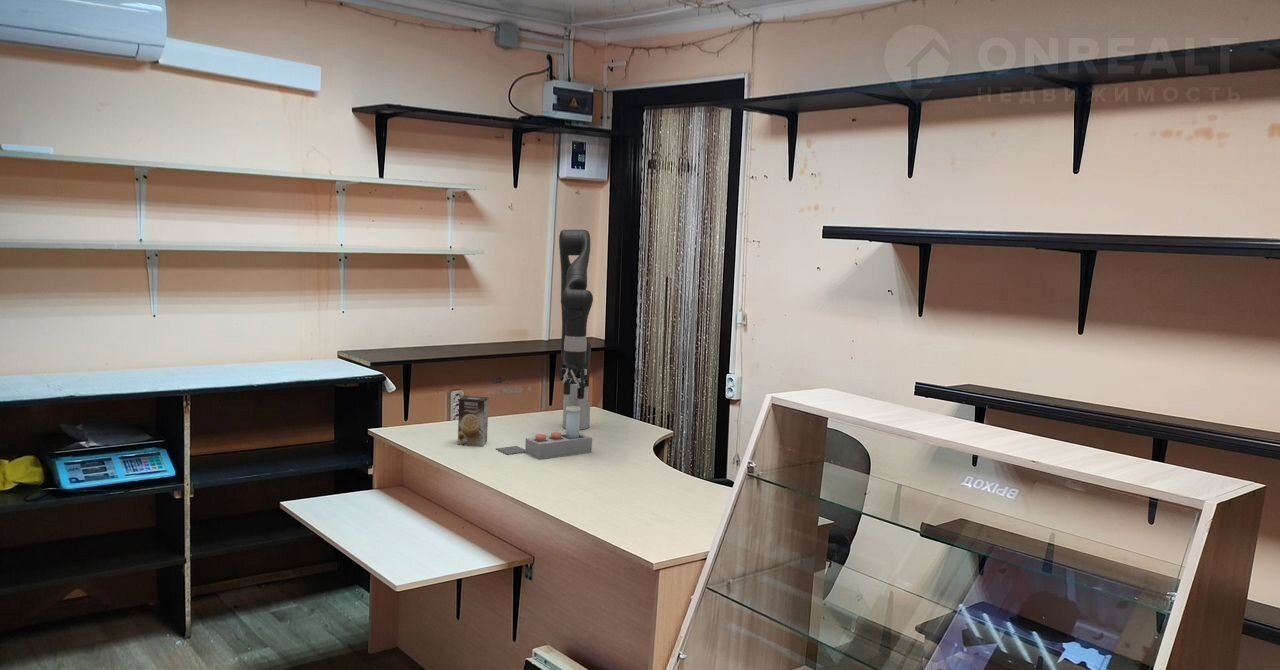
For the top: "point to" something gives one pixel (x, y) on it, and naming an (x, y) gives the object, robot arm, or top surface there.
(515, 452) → the mat
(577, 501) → the top surface
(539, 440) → the plunger
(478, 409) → the coffee box
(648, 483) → the top surface
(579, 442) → the housing
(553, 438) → the plunger
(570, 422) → the cartridge
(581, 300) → the robot arm
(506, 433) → the top surface
